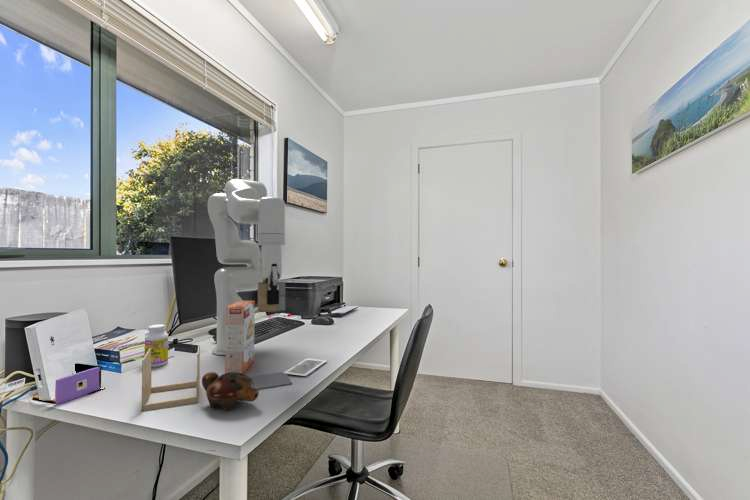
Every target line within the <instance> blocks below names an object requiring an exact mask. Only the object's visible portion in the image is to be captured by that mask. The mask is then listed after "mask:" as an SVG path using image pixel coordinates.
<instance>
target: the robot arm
mask: <svg viewBox="0 0 750 500" xmlns="http://www.w3.org/2000/svg"><path fill="white" fill-rule="evenodd" d="M223 190H224V192H219V193H218V192H217V193H213V194H210V196H209V197H208V200H207V213H208V216H209V220H210V222H211V224H212V227H213V231H214V239H215V249H216V250H215V251H216V258H217V261H218V262H219V263H220V264H222V265H246V266H228V267H227V266H226V267H221V268H219V269H217V271H215V273H214V277H213V278H214V279H213V280H214V281H213V282H214V287H215V295H216V346H214V347H213V348H212V349H211V353H212V354H214V355H218V356H225V350H226V307H228V306H230V305H232V304H234V303H236V302H237V301H244V300H243V299H242V297H240V296H239V294H238V293H241V292H253V291H258V282H268V290H267V304H268V305H274V304H279V283H278V282H279V281H280V279H281V278H282V274H283V273H282V272H283V271H282V269H283V268H282V265H283V264H282V262H283V261H282V258H283V257H282V246H285V245H286V204H285V202H286V201H285V200H284V199H282V198H280V197H273V196H268V190H267V188H266V186H265V184H264V183H262V182H260V181H258V180H257V181H256V180H250V179H241V178H234V179H233V178H232V179H231V180H227V182H226V183H225V186H224V189H223ZM235 222H236V223H238V224H243V225H257V242H256V241H255V240H247V239H245V240H243V239H240V236H239V228H238V226H237V224H235ZM260 246H261V247H260ZM270 282H271V283H270Z"/></svg>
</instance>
